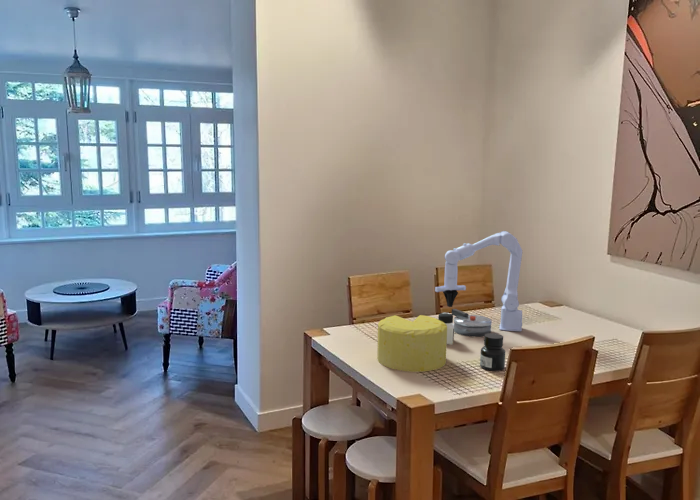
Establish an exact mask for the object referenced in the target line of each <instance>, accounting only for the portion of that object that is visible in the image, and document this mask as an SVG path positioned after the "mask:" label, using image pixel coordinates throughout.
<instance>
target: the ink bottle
mask: <svg viewBox="0 0 700 500" xmlns="http://www.w3.org/2000/svg"><path fill="white" fill-rule="evenodd" d="M483 338H484V339H483V340H484V341H483V346H482V347H481V349H480V358H479V362H480V363H479V366H480V367H481V368H482V369H483V370H487V371H493V372H494V371H498V372H499V371H502V370H504V369H505V367H506V350H505V349H504V348H503V346H504V335H502V334H499V333H493V332H491V333H488V334H485V335H484V336H483Z"/></svg>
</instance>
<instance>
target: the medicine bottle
mask: <svg viewBox="0 0 700 500" xmlns="http://www.w3.org/2000/svg"><path fill="white" fill-rule="evenodd" d="M437 319H438V320H440V321H443V322H444V323H445V324H446V325H447V345H453V344H454V340H455V339H454V338H455V336H454V335H455V332H454V315H452V313H449V312H442V313H441V312H440V313H439V314H438V316H437Z"/></svg>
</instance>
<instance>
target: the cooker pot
mask: <svg viewBox="0 0 700 500" xmlns="http://www.w3.org/2000/svg"><path fill="white" fill-rule="evenodd" d="M453 324H454V334H455V333H456V335H461V336H465V337H470V338H471V337H472V338H474V337H475V338H484V335H485V334H488V333H492V332H491V331H492V324H491V325H490V326H487V327H466V326H461V325H458V324H456V323H455V322H454V321H453Z"/></svg>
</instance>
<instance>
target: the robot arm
mask: <svg viewBox="0 0 700 500" xmlns="http://www.w3.org/2000/svg"><path fill="white" fill-rule="evenodd" d="M489 246H502V247H504V248H505V249H506V250H507V251H508V252H509V253H510V254H509V255H510V256H509V264H508V270H507V278H506V287H505V289H504V292H503V295H502V296H501V298H500V299H501V303H502V306H501V309H500V324H499V327H498V328H499V330H500V331H508V332H509V331H512V332H522V330H523V328H522V327H523V310H521V309H519V306H520V302H519V299H518V297H519V293H518V287H519V279H520V272H521V265H522V257H523V249H522V247H521V245H520V243H519V241H518V238H517V237H515V236H514V235H513V234H512V233H511V232H509V231H506V230H502V231H500V232H496V233H493V234H491V235H489V236H487V237H485V238H484V239H481V240H479V241H477V242H475V243H469V242H467V243H466V242H464V243H462V245H461V246H459V247H456V248H455V247H454V248H453V250H451V249H449V250H447V251H446V252H445V254H444V260H445V263H444V265H445V266H444V283H443V284H444V285H441V286H434V291H435V292H436V293H440V292H442V294H443V295H444V298H445V300H446V302H445V303H446V306H447V307H449V308H451V307H453V306H454V303H455V299H456V297H457V296H458V295H459V291H467V290H466V289H467V286H466V285H463V284H461V285H458V272H459V271H458V270H459V269H458V263H459V261H463V260H465V259H468V258H469V257H472V256H474V254H475V253H476V251H479V250H482V249H484V248H487V247H489Z"/></svg>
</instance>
